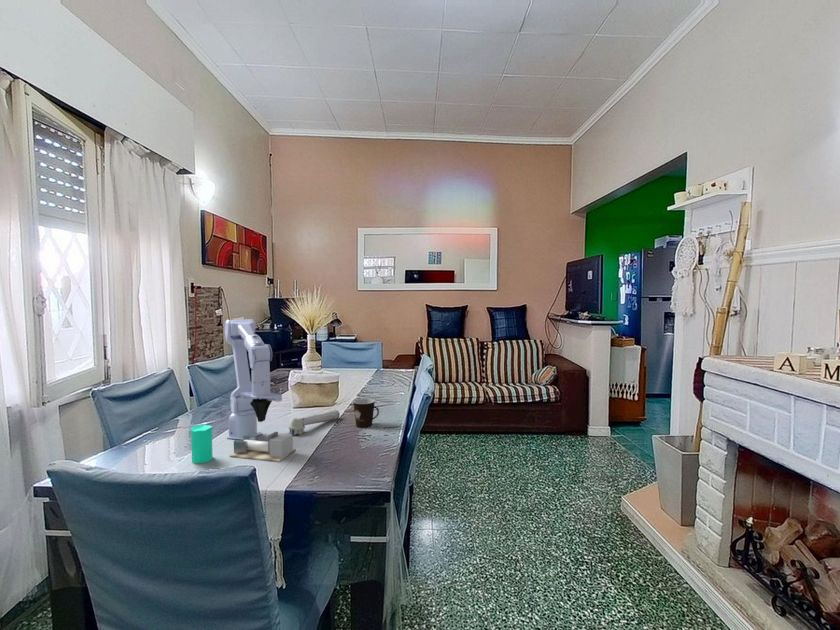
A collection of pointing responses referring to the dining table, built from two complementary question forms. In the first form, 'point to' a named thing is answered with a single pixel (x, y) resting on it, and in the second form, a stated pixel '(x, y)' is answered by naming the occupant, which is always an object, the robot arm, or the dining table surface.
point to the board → (258, 456)
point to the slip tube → (261, 444)
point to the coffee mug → (364, 412)
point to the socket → (281, 445)
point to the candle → (201, 443)
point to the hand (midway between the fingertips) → (261, 420)
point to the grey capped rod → (311, 421)
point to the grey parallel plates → (243, 444)
